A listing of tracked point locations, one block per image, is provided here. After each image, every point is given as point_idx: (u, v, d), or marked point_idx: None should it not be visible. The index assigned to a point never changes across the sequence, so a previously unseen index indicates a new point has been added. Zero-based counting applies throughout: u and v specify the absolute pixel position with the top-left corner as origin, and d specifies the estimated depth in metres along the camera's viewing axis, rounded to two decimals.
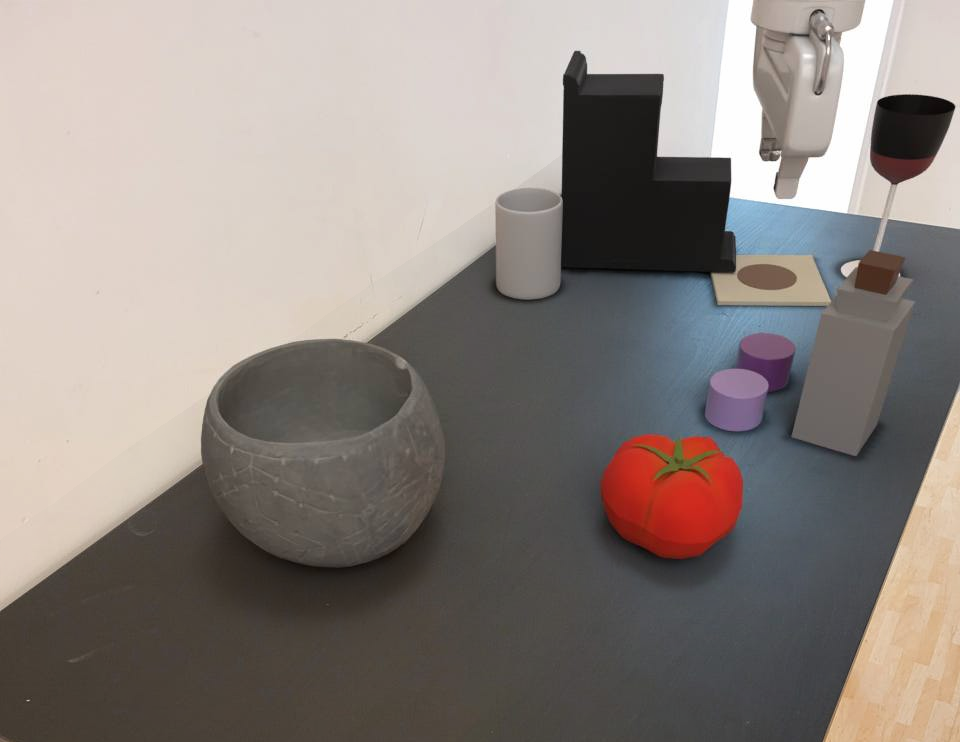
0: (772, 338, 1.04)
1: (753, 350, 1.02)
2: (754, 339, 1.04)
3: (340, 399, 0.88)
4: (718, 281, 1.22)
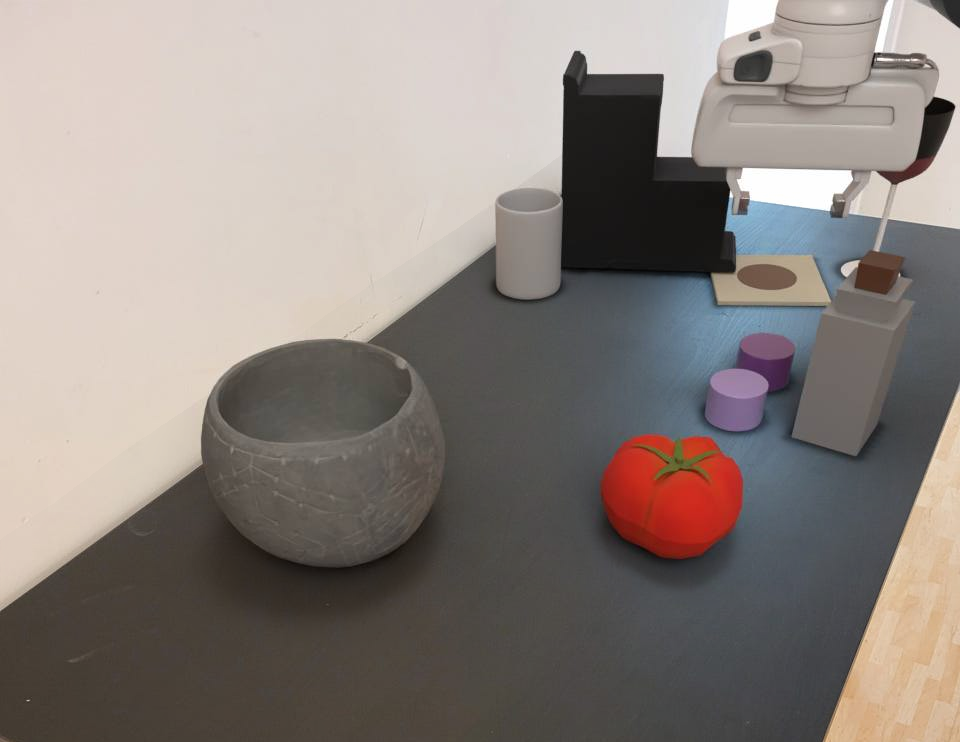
0: (772, 338, 1.04)
1: (753, 350, 1.02)
2: (754, 339, 1.04)
3: (340, 399, 0.88)
4: (718, 281, 1.22)
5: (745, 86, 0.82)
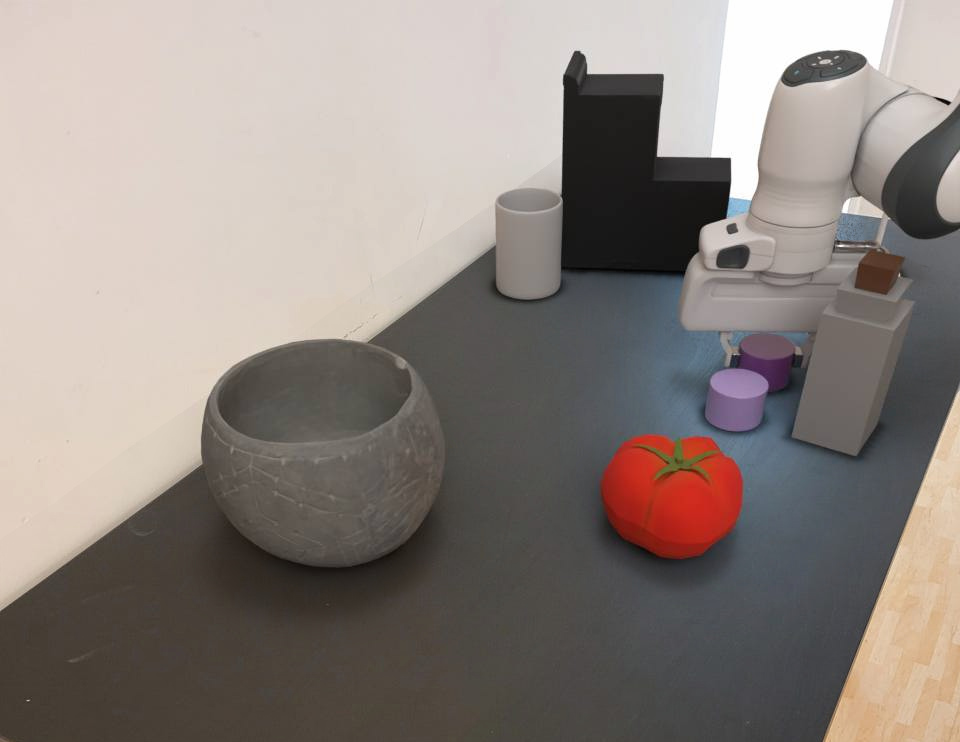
0: (772, 338, 1.04)
1: (753, 350, 1.02)
2: (755, 339, 1.04)
3: (340, 399, 0.88)
4: None
5: (725, 270, 0.95)
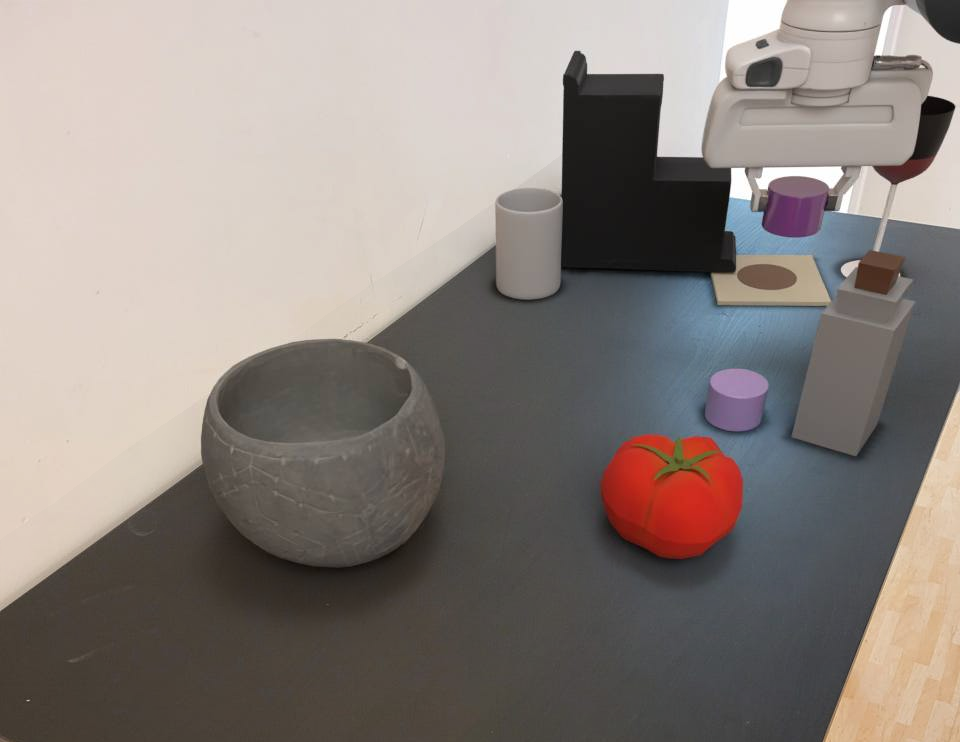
0: (803, 180, 0.96)
1: (783, 190, 0.95)
2: (784, 181, 0.96)
3: (340, 399, 0.88)
4: (718, 281, 1.22)
5: (755, 90, 0.87)
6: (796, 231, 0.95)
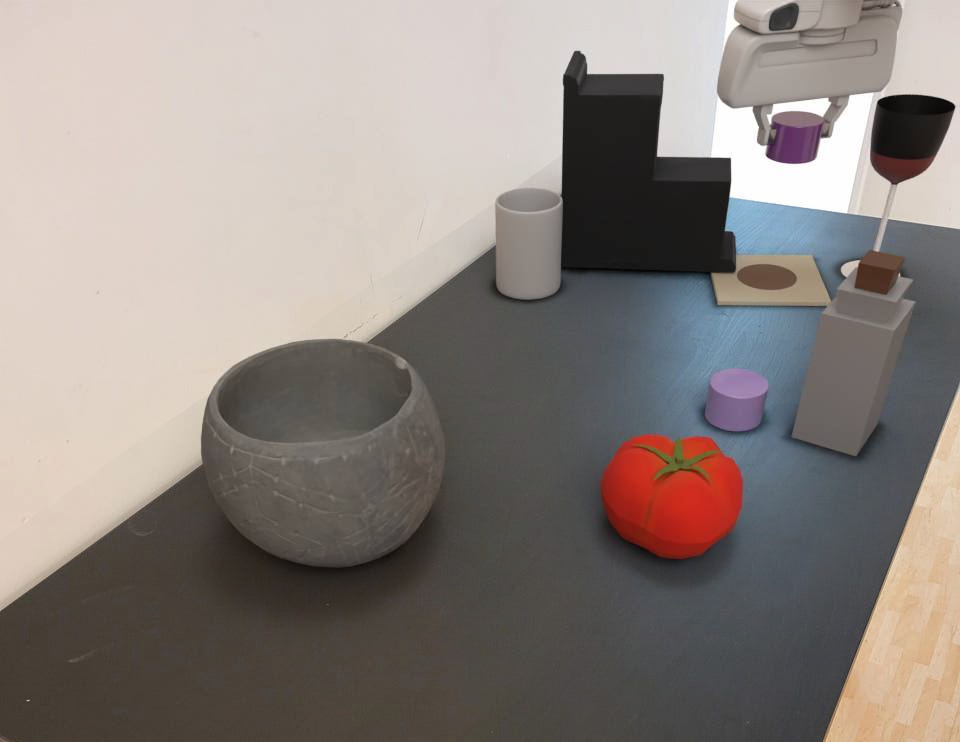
0: (797, 113, 1.10)
1: (788, 122, 1.08)
2: (783, 116, 1.10)
3: (340, 399, 0.88)
4: (718, 281, 1.22)
5: (775, 34, 0.99)
6: (803, 157, 1.09)
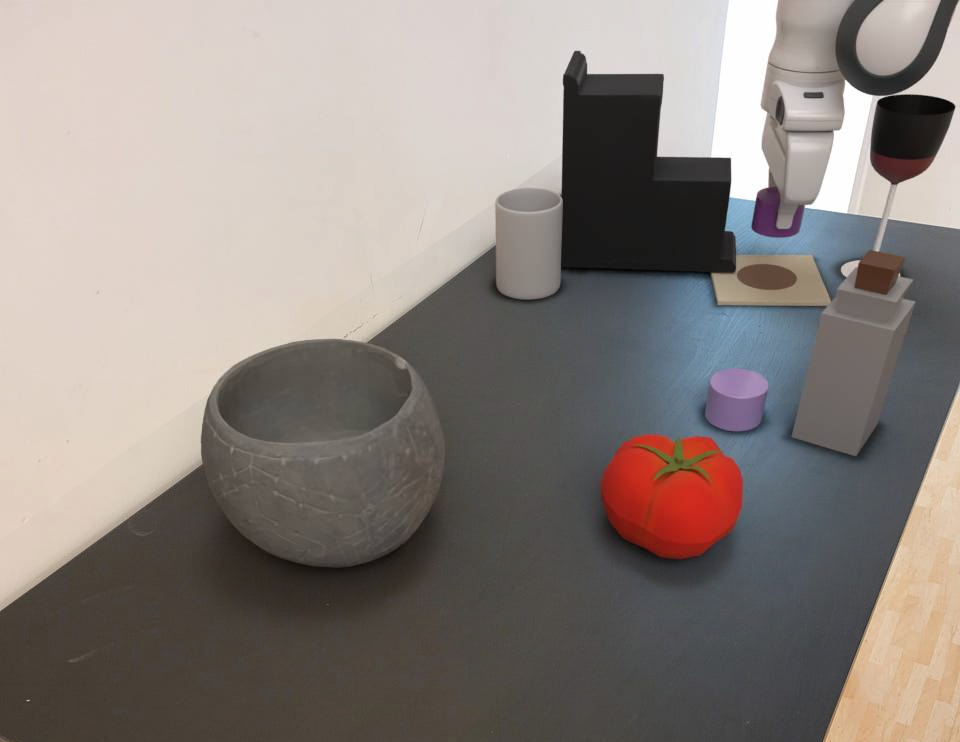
0: (767, 192, 1.16)
1: None
2: (771, 198, 1.14)
3: (340, 399, 0.88)
4: (718, 281, 1.22)
5: None
6: None
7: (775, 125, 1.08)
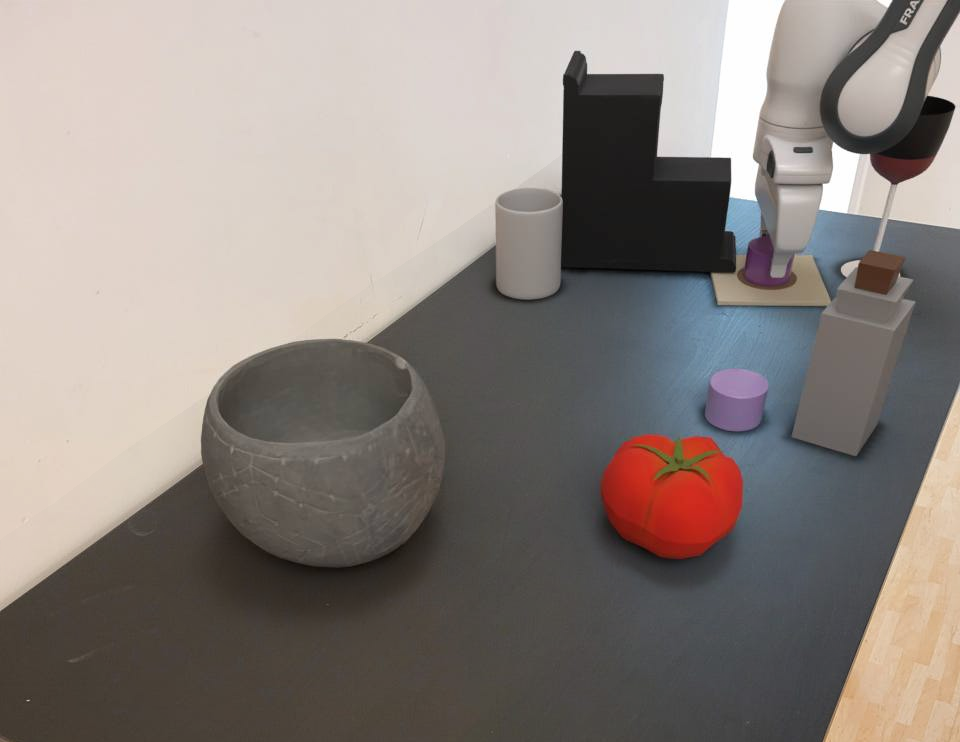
0: (758, 242, 1.20)
1: None
2: (762, 249, 1.19)
3: (340, 399, 0.88)
4: (718, 281, 1.22)
5: None
6: None
7: (767, 176, 1.12)
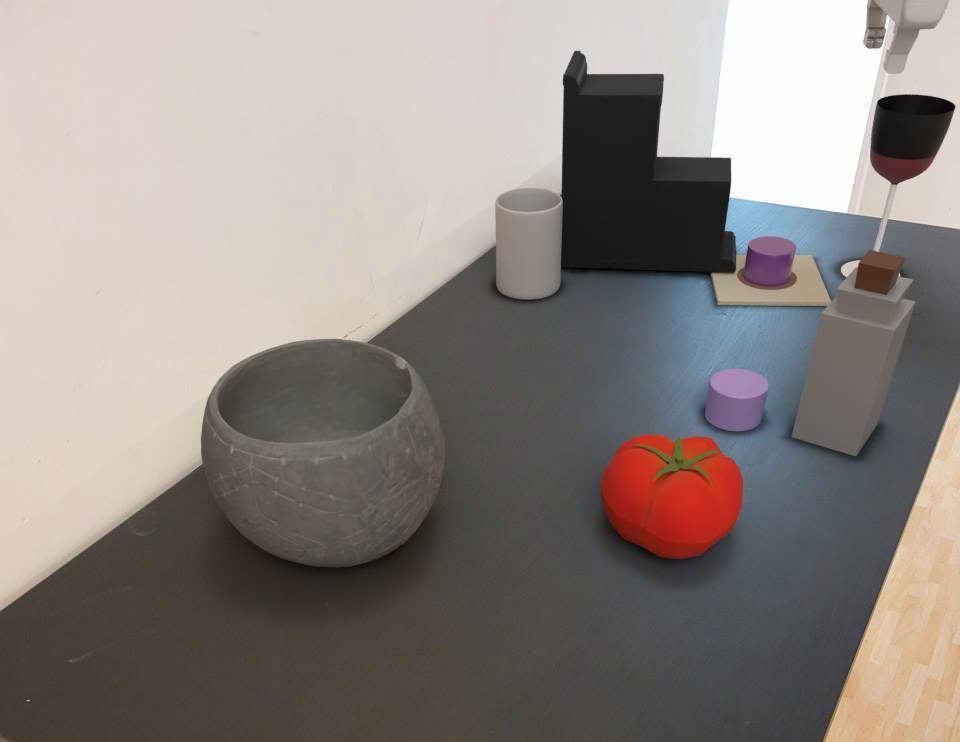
0: (758, 242, 1.20)
1: (782, 250, 1.18)
2: (762, 249, 1.19)
3: (340, 399, 0.88)
4: (718, 281, 1.22)
5: None
6: None
7: None
